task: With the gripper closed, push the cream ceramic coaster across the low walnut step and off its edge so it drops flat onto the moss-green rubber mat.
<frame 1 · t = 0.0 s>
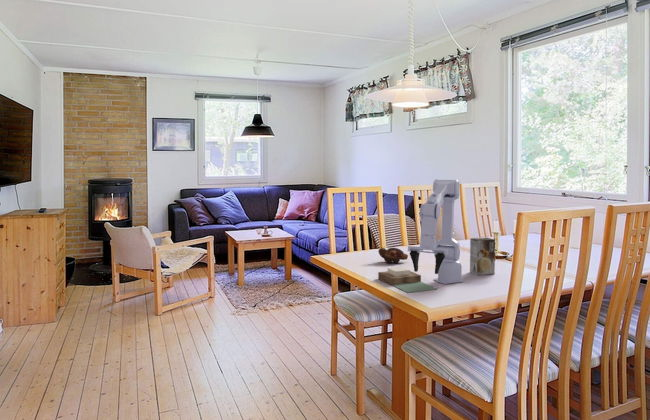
hand: (426, 272, 171), 11 cm above the table, tool pointing down, fingers open, 7 cm apart
rubber mat: (414, 287, 191), on the table
coaster: (398, 273, 202), point 3 cm above the table, touching walnut step
walnut step: (399, 280, 202), on the table
coffee box: (481, 273, 214), on the table
decorative turtle: (393, 263, 238), on the table
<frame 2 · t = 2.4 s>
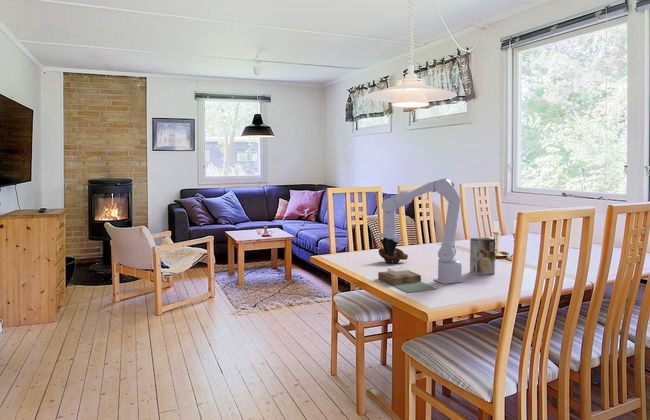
hand: (389, 255, 209), 9 cm above the table, tool pointing down, fingers closed
nothing on the table moved.
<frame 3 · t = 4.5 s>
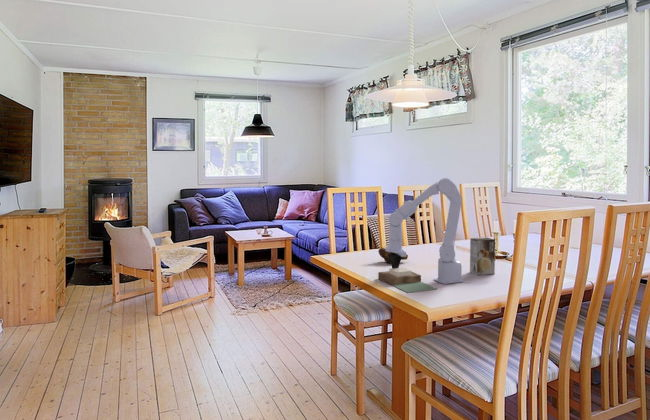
hand: (395, 270, 204), 4 cm above the table, tool pointing down, fingers closed
coaster: (400, 274, 200), point 3 cm above the table, touching gripper, walnut step
everything else where it was.
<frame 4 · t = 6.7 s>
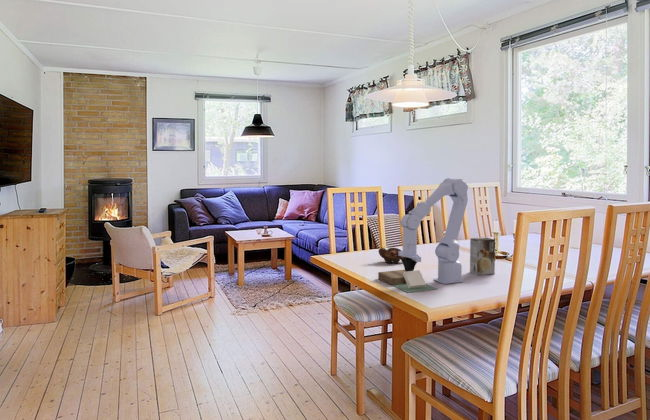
hand: (409, 275, 194), 4 cm above the table, tool pointing down, fingers closed
coaster: (413, 280, 191), point 3 cm above the table, tilted 43°, touching gripper, rubber mat
everything else where it was.
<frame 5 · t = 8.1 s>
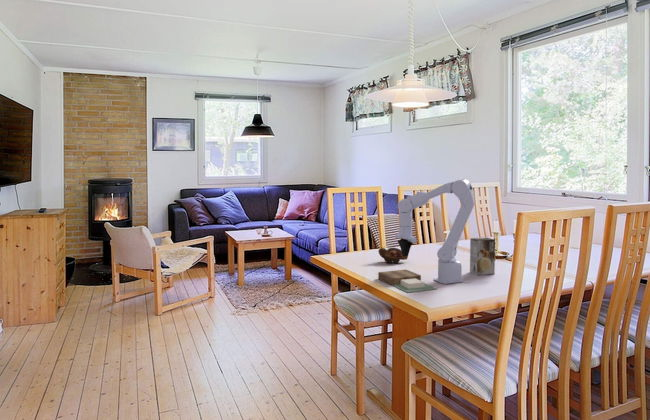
hand: (405, 256, 207), 9 cm above the table, tool pointing down, fingers closed
coaster: (412, 285, 192), resting on rubber mat
everything else where it was.
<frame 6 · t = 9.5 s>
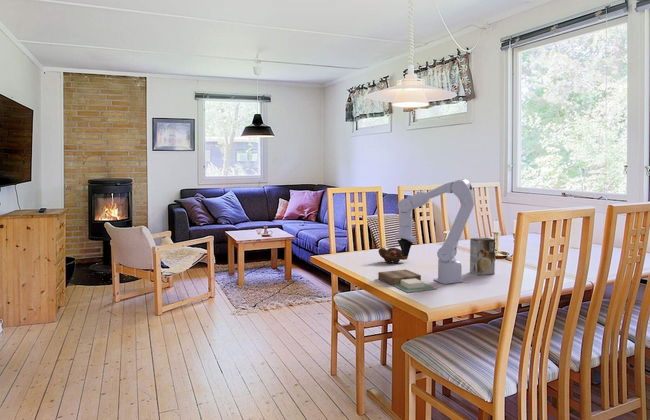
hand: (405, 256, 207), 9 cm above the table, tool pointing down, fingers closed
nothing on the table moved.
at the end: coaster inside the target area (2.8 cm from its centre), resting on rubber mat; coaster tilted 0°; coaster touching rubber mat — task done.
